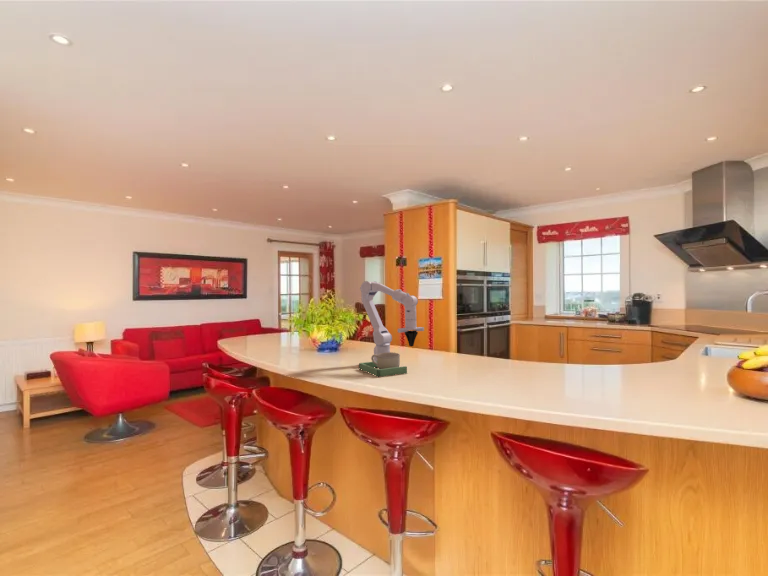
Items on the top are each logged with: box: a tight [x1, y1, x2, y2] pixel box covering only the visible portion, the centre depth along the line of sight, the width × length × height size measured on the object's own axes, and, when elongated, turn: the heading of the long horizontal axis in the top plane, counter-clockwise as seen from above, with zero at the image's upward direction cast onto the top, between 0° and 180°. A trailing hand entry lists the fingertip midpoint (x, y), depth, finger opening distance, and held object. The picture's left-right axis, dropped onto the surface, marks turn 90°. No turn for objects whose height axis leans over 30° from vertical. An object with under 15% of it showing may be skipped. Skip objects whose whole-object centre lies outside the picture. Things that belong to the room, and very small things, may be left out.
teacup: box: [370, 351, 401, 369], centre depth 180 cm, size 14×11×8 cm
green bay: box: [358, 361, 408, 377], centre depth 179 cm, size 20×15×3 cm
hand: (411, 346), depth 195 cm, fingers closed
